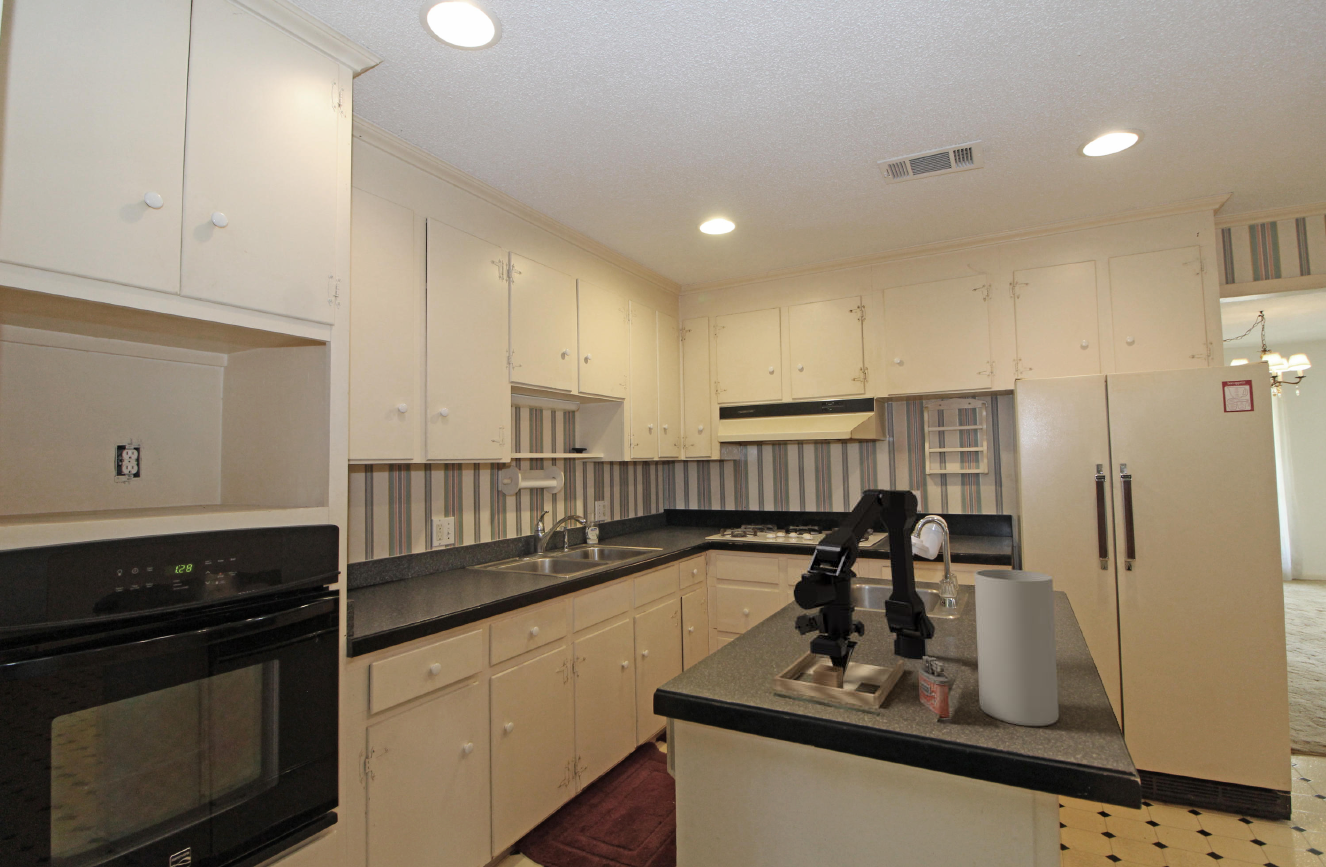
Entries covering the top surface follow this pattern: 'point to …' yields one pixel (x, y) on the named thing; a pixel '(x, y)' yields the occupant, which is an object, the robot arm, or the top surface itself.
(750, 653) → the top surface
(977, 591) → the cylinder vase
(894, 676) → the box
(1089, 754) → the top surface
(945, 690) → the lighter
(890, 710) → the top surface
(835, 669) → the block
